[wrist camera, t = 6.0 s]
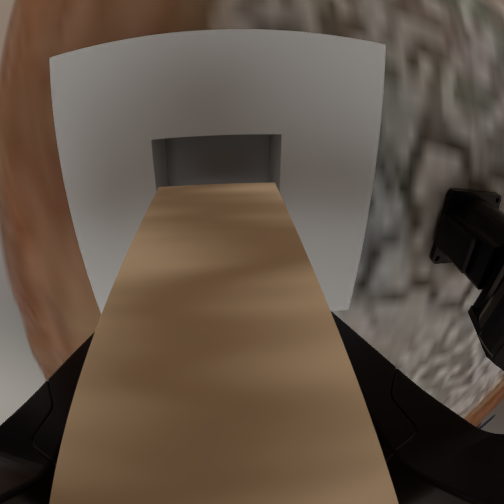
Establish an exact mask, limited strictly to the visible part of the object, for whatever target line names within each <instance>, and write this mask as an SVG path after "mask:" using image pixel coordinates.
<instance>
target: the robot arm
mask: <svg viewBox="0 0 504 504" xmlns="http://www.w3.org/2000/svg"><path fill="white" fill-rule="evenodd" d="M453 195H454V197H453ZM500 201H501V196H500V195H499V194H497V193H492V192H483V191H473V190H462V189H451V190H449V192H448V194H447V198H446V202H445V206H444V210H443V214H442V218H441V222H440V226H439V229H438V233H437V237H436V240H435V243H434V247H433V250H432V253H431V257H430V259H431V261H432V262H433V263H434V264H439V263H451V262H452V263H453V264H454V265H455V266H456V267H457V268H458V270H459V271H460V272H461V273H464V274H465V275H466V276H467V278H468V279H469V280H470V281H471V282H472V283H473V284H474V285H475V287H476V288H477V289H481V290H482V291H481V293H480V295H479V296H478V298H477V300H476V301H475V303H474V305H473V306H471V307H470V309H469V311H468V313H469V316H470V318H471V320H472V323H473V325H474V328H475V330H476V332H477V335H478V337H479V340H480V342H481V345H482V348H483V350H484V352H485V354H486V357H487V358H489V359H490V360H491V361H492V362H493V363H494V364H495V365H496V366H498V367H499V368H501V369H502V370H503V371H504V213H503V212H501V211H500V210H498V208H499V205H500ZM331 314H332V316H333V319H334V321H335V324H336V326H337V329H338V331H339V334H340V336H341V339H342V341H343V344H344V347H345V349H346V352H347V354H348V357H349V360H350V362H351V365H352V368H353V370H354V373H355V376H356V378H357V381H358V384H359V386H360V389H361V392H362V395H363V397H364V400H365V403H366V406H367V409H368V411H369V414H370V417H371V420H372V423H373V426H374V429H375V432H376V434H377V437H378V440H379V443H380V446H381V449H382V452H383V455H384V458H385V462H386V465H387V468H388V471H389V474H390V477H391V480H392V483H393V487H394V490H395V493H396V497H397V500H398V503H399V504H504V434H494V433H490V432H486V431H483V430H481V429H479V428H477V427H475V426H474V425H472V424H470V423H469V422H468V421H466V420H465V419H463V418H462V417H460V416H459V415H457V414H456V413H455V412H453V411H452V410H450V409H449V408H447V407H446V406H444V405H443V404H442V403H440V402H439V401H437V400H436V399H435V398H433V397H432V396H431V395H429V394H428V393H426V392H425V391H424V390H422V389H421V388H420V387H419V386H417V385H416V384H415V383H414V382H413V381H411V380H410V379H409V378H408V377H407V376H405V375H404V374H403V373H402V372H401V371H400V370H399V369H396V367H395V366H394V365H393V364H392V363H390V362H389V361H388V360H387V359H386V358H385V357H383V356H382V355H381V354H380V353H379V352H378V351H377V350H375V349H374V348H373V347H372V346H371V345H370V344H368V343H367V342H366V341H365V340H364V339H363V338H362V337H360V336H359V335H358V334H357V333H356V332H355V331H353V330H352V329H351V328H350V327H349V326H348V325H347V324H345V323H344V322H343V321H342V320H341V319H340V318H338V317H337V316H336V315H335V314H334V313H333V312H331ZM94 333H95V332H94ZM94 333H93V334H92V335H91V336H90V337H89V338H88V339H87V340H86V341H85V342H84V343H83V344H82V345H81V346H80V347H79V348H78V349H77V350H76V351H75V352H74V353H73V354H72V355H71V356H70V357H69V358H68V359H67V360H66V361H65V362H64V363H63V364H62V365H61V366H60V367H59V368H58V370H57V371H56V372H55V373H54V374H53V375H52V376H51V377H50V378H49V379H48V381H46V382H45V383H44V384H43V385H42V386H41V387H40V388H39V390H37V391H36V392H35V394H33V396H32V397H30V398H29V400H28V401H27V402H26V403H24V404H23V405H22V406H21V407H20V408H19V409H18V410H17V411H16V412H15V413H14V414H13V415H12V416H10V417H9V418H8V419H7V420H6V421H5V422H4V423H3V424H2V425H1V426H0V504H49V502H50V496H51V490H52V484H53V479H54V474H55V469H56V464H57V459H58V455H59V451H60V446H61V442H62V438H63V434H64V430H65V426H66V422H67V418H68V415H69V411H70V407H71V404H72V400H73V397H74V394H75V390H76V387H77V384H78V380H79V377H80V374H81V371H82V368H83V365H84V362H85V359H86V356H87V353H88V350H89V347H90V344H91V341H92V339H93V336H94ZM395 369H396V370H395Z"/></svg>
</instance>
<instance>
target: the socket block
mask: <svg viewBox="0 0 504 504" xmlns="http://www.w3.org/2000/svg"><path fill="white" fill-rule="evenodd" d="M385 49H386V45H385V44H380V43H375V42H370V41H365V40H360V39H354V38H348V37H341V36H334V35H327V34H319V33H309V32H299V31H285V30H265V29H218V30H198V31H185V32H174V33H165V34H157V35H149V36H142V37H136V38H130V39H124V40H119V41H114V42H109V43H104V44H99V45H95V46H91V47H86V48H82V49H78V50H75V51H71V52H67V53H64V54H60V55H57V56H54V57H50V80H51V94H52V105H53V115H54V124H55V131H56V139H57V146H58V152H59V158H60V164H61V170H62V175H63V180H64V185H65V190H66V195H67V199H68V204H69V208H70V212H71V217H72V221H73V225H74V229H75V232H76V236H77V240H78V244H79V247H80V251H81V254H82V257H83V261H84V264H85V267H86V271H87V274H88V277H89V280H90V283H91V286H92V289H93V292H94V295H95V298H96V301H97V304H98V306H99V309H100V312H101V314H102V312H103V309H104V307H105V304H106V301H107V299H108V296H109V294H110V292H111V289H112V287H113V284H114V282H115V279H116V277H117V275H118V272H119V270H120V268H121V265H122V263H123V261H124V259H125V256H126V254H127V252H128V250H129V247H130V245H131V243H132V241H133V239H134V237H135V234H136V232H137V230H138V228H139V226H140V224H141V222H142V220H143V218H144V216H145V214H146V212H147V209H148V207H149V205H150V203H151V201H152V199H153V198H154V196H155V194H156V192H157V190H158V188H159V187H169V186H186V185H206V184H232V183H275V184H276V186H277V188H278V190H279V193H280V195H281V197H282V199H283V201H284V203H285V206H286V208H287V210H288V212H289V215H290V217H291V219H292V221H293V224H294V226H295V228H296V230H297V233H298V235H299V237H300V240H301V242H302V244H303V246H304V249H305V251H306V253H307V256H308V258H309V260H310V263H311V265H312V267H313V270H314V272H315V275H316V277H317V279H318V282H319V284H320V287H321V289H322V291H323V294H324V296H325V299H326V301H327V304H328V306H329V309H330V311H341V310H348V309H349V305H350V301H351V297H352V292H353V288H354V284H355V279H356V275H357V270H358V266H359V261H360V256H361V251H362V246H363V241H364V236H365V231H366V225H367V220H368V214H369V208H370V202H371V196H372V189H373V183H374V176H375V169H376V161H377V153H378V145H379V136H380V126H381V116H382V104H383V90H384V74H385Z"/></svg>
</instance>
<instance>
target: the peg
mask: <svg viewBox="0 0 504 504" xmlns="http://www.w3.org/2000/svg"><path fill="white" fill-rule="evenodd" d="M49 504H399V503H398V500H397V497H396V493H395V490H394V487H393V483H392V480H391V477H390V474H389V471H388V468H387V465H386V462H385V458H384V455H383V452H382V449H381V446H380V443H379V440H378V437H377V434H376V432H375V429H374V426H373V423H372V420H371V417H370V414H369V411H368V409H367V406H366V403H365V400H364V397H363V395H362V392H361V389H360V386H359V384H358V381H357V378H356V376H355V373H354V370H353V368H352V365H351V362H350V360H349V357H348V354H347V352H346V349H345V347H344V344H343V341H342V339H341V336H340V334H339V331H338V329H337V326H336V324H335V321H334V319H333V316H332V314H331V311H330V309H329V306H328V304H327V301H326V299H325V296H324V294H323V291H322V289H321V287H320V284H319V282H318V279H317V277H316V275H315V272H314V270H313V267H312V265H311V263H310V260H309V258H308V256H307V253H306V251H305V249H304V246H303V244H302V242H301V240H300V237H299V235H298V233H297V230H296V228H295V226H294V224H293V221H292V219H291V217H290V215H289V212H288V210H287V208H286V206H285V203H284V201H283V199H282V197H281V195H280V193H279V190H278V188H277V186H276V184H275V183H232V184H206V185H186V186H169V187H159V188H158V190H157V192H156V194H155V196H154V198H153V199H152V201H151V203H150V205H149V207H148V209H147V212H146V214H145V216H144V218H143V220H142V222H141V224H140V226H139V228H138V230H137V232H136V234H135V237H134V239H133V241H132V243H131V245H130V247H129V250H128V252H127V254H126V256H125V259H124V261H123V263H122V265H121V268H120V270H119V272H118V275H117V277H116V279H115V282H114V284H113V287H112V289H111V292H110V294H109V296H108V299H107V301H106V304H105V307H104V309H103V312H102V314H101V317H100V320H99V322H98V325H97V328H96V330H95V333H94V336H93V339H92V341H91V344H90V347H89V350H88V353H87V356H86V359H85V362H84V365H83V368H82V371H81V374H80V377H79V380H78V384H77V387H76V390H75V394H74V397H73V400H72V404H71V407H70V411H69V415H68V418H67V422H66V426H65V430H64V434H63V438H62V442H61V446H60V451H59V455H58V459H57V464H56V469H55V474H54V479H53V484H52V490H51V496H50V502H49Z"/></svg>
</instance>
